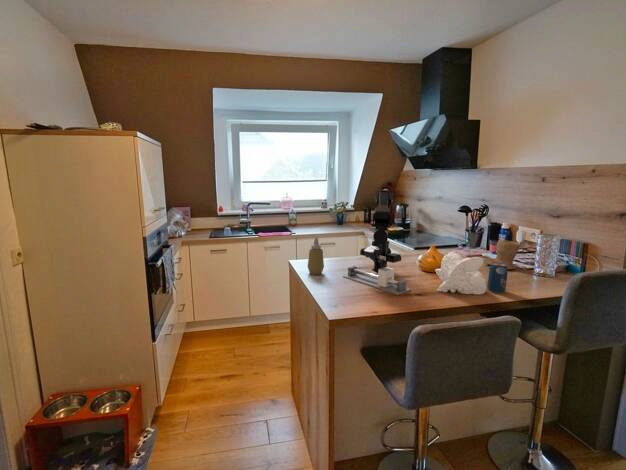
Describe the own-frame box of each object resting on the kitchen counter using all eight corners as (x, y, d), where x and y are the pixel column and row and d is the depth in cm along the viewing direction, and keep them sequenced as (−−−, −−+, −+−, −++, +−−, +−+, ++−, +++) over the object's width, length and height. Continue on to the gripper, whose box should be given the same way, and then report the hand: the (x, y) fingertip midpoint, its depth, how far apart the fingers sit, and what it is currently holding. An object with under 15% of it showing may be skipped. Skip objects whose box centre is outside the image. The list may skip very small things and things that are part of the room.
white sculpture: (506, 274, 143) (471, 250, 138) (480, 316, 143) (444, 293, 138) (475, 265, 161) (444, 243, 156) (453, 302, 161) (420, 281, 156)
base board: (343, 277, 167) (343, 275, 166) (356, 273, 172) (356, 272, 172) (397, 294, 144) (397, 293, 144) (410, 290, 149) (410, 288, 149)
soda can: (504, 295, 146) (507, 267, 144) (486, 291, 149) (489, 264, 147) (505, 290, 152) (509, 263, 149) (487, 287, 155) (490, 261, 153)
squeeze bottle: (322, 276, 167) (323, 239, 164) (305, 275, 169) (306, 238, 165) (325, 271, 175) (326, 236, 172) (309, 270, 176) (309, 235, 173)
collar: (377, 284, 153) (378, 269, 152) (386, 282, 157) (386, 266, 156) (384, 287, 150) (385, 271, 149) (393, 284, 154) (394, 268, 153)
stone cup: (521, 269, 186) (525, 241, 183) (507, 271, 181) (510, 243, 178) (495, 262, 199) (498, 236, 197) (481, 264, 194) (484, 238, 191)
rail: (347, 276, 168) (348, 267, 167) (354, 274, 170) (354, 265, 170) (399, 293, 146) (400, 282, 145) (405, 291, 148) (406, 280, 148)
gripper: (352, 237, 155) (351, 272, 157) (386, 244, 141) (384, 282, 144) (368, 235, 162) (367, 267, 165) (403, 241, 148) (400, 277, 151)
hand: (379, 273), depth 156 cm, fingers closed
